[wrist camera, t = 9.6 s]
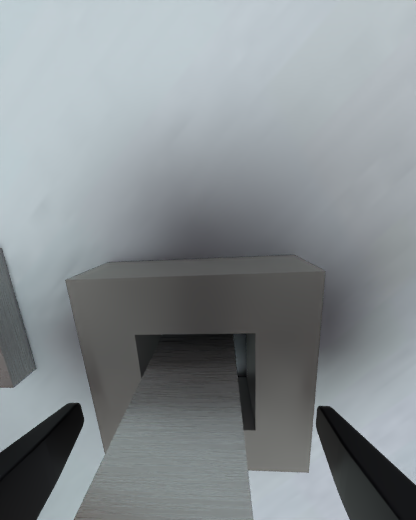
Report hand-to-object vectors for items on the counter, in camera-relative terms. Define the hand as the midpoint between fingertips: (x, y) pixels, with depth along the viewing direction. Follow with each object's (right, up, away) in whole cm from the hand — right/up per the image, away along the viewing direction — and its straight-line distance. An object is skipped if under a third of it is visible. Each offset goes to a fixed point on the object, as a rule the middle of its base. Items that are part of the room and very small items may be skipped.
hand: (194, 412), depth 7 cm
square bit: (0, +1, +4) cm, 4 cm away
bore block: (0, +1, +4) cm, 4 cm away
